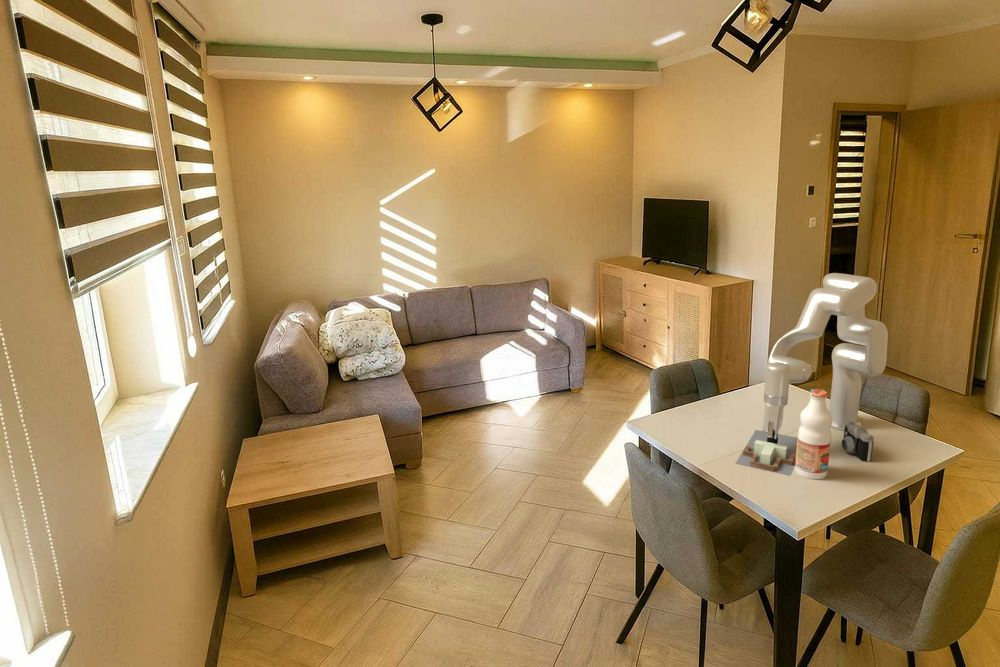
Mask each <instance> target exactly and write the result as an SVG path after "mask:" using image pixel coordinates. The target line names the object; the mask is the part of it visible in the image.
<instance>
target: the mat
mask: <svg viewBox="0 0 1000 667" xmlns="http://www.w3.org/2000/svg"><path fill="white" fill-rule="evenodd" d="M767 437H768V431H763V430H758V429H755V430H754V432H753V434H752V435H751V437H750V438H749V440H748V442H747V443H746V445H745V447H744V448H743V450H742V451H741V454H740V455H739V457H738V458H737V460H736V461H735V463H734V464H735V465H739V466H744V467H749V468H753V469H757V470H761V471H766V472H770V473H776V474H779V475H784V476H789V477H791V475H792V473H793V470H794V469H795V459H796V448H797V436H796V437H795V436H789V435H784V434H779V433H778V444H780V445H785V446H787V457H786V459H789V458H790V455H791V453H792V454H795V459H794V461H793V464H792V466H790V465H786V464H781V463H780V465H779V467H778V469H777V471H776V470H775V471H774V472H773V471H768V470H764V469H759V468H755V467H751V465H750V460H751V458H752V457H748V456H743V451H744V449H745V448H746V446H747V445H751V449H750V451H751V452H754V443H755V441H756V440H759V441H765V442H767ZM775 461H776V458H774V459H773V460H772V462H771V464H770V465H774V463H775ZM756 462H759V463H760V455H758V458H757V460H756Z"/></svg>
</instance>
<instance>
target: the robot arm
mask: <svg viewBox="0 0 1000 667" xmlns="http://www.w3.org/2000/svg"><path fill="white" fill-rule="evenodd" d="M877 291H878V284H877V282H876V280H875V279H873V278H871V277H868V276H862V275H854V274H848V273H841V272H840V273H838V272H832V273H828V274H826V275H825V276H824V277H823V279H822V287H818V288H815V289H813V290H812V291H811V292H810V294H809V296H808V298H807V300H806V302H805V305H804V308H803V309H802V312H801V315H800V317H799V319H798V321H797V324H796V326H794V327H793V329H791V330H789V331H788V332H786V333H785V334H784V335H782V336H781V337H780V338H779V339H778V340H777V341H776V342H775V344H774V345H773V347H772V349H771V352H770V354H769V356H768V359H767V364H766V367H765V376H764V388H763V403H764V404H765V407H764V413H763V421H762V430H761V431H765V432H768V437H767V442H770V443H775V444H778V434H779V431H780V429H781V428H782V425H783V422H784V421H783V420H784V411H785V409H784V408H785V406H787V405H788V400H789V392H790V384H800V383H803V382H804V383H805V382H806V381H808V380H809V379H810V378H811V376H812V374H813V373H812V372H813V368H812V366H811V365H810V364H809V363H808V362H805V361H804V360H802V359H796V358H794V357H790V356H786V355H787V353H788V352H789V350H790V349H791V348H792V347H794V346H795V345H796V344H799V343H802V342H805V341H810V340H815V339H819V338H821V337H822V336H823V334H824V331H825V329H826V327H827V324H828V322H829V321H830V318H831V316H832V315H833V316H837V321H836V322H837V323H836V330H837V337H838V338H839V339H840V340H842V341H843V343H839V344H837V345H835V347H834V348H833V350H832V352H831V363H832V364H831V365H832V379H831V380H832V381H831V382H832V383H831V389H830V390H831V391H830V399H829V409H828V411H829V412H830V413H831V415H832V424H831V427H830V429H833V430H834V429H835V430H838V431H844V429H845V424H846V423H847V422H854V423H855V424H856V425H859V426H862V422H861V421H859V420H858V418H859V409H860V399H861V394H862V393H861V390H862V385H863V384H862V383H863V382H862V378H861V375H860V374H862V375H866V376H872V377H877V376H879V375H881V374H882V373H883V372H884V370H885V369H886V366H887V359H888V357H887V356H888V342H889V339H888V337H889V333H888V332H889V331H888V328H887V327H886V326H887V325H885V323H883V322H882V321H879V320H875V319H871V318H867V317H866V314H865V313H866V305H867V304H868V303H869V302H871V301H872V300H873V298H874V297H875V296H876V294H877ZM845 342H846V343H845ZM847 342H848V343H847Z"/></svg>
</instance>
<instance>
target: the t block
mask: <svg viewBox="0 0 1000 667" xmlns="http://www.w3.org/2000/svg"><path fill="white" fill-rule="evenodd" d="M754 452H756V453H758V455H760V463H763V464H768V465H770V464H771V462H772V460H773V459H774V458H776V459H777V457H780V458H784V459H786V457H787V446H785V445H780V444H775V443H770V442H765V441H759V440H756V441H755V443H754Z"/></svg>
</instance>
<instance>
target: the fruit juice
mask: <svg viewBox="0 0 1000 667" xmlns="http://www.w3.org/2000/svg"><path fill="white" fill-rule="evenodd" d="M827 399H828V392H827V391H826V390H823V389H818V388H815V389H814V388H812V389H810V391H809V401H808V403H807V405H806V407H804V408H803V409H802V411H801V412H800V415H799V420H800V426H799V428H798V430H797V431H798V432H797V436H796V438H797V448H796V459H795V466H794V471H795V474H797V475H798V476H800V477H802V478H805V479H808V480H822V479H825V478H826V477H827V476H828V470H829V460H830V452H831V451H830V450H831V442H832V441H831V440H832V432H831V424H832V415H831V413H830V412H829V409H828V407H827V402H826V400H827Z"/></svg>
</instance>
